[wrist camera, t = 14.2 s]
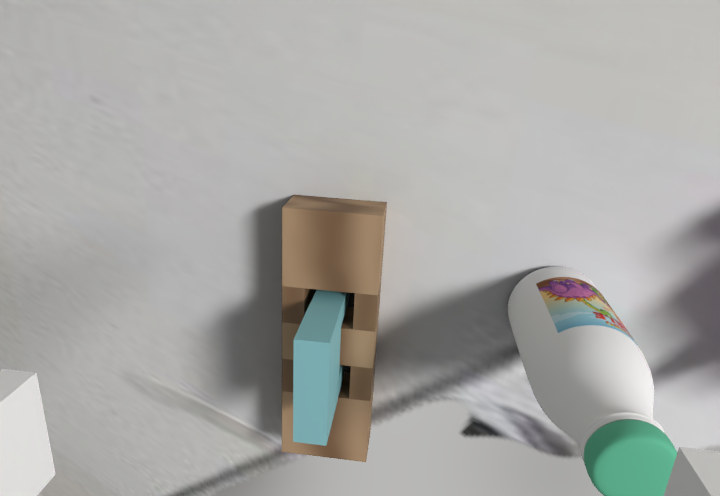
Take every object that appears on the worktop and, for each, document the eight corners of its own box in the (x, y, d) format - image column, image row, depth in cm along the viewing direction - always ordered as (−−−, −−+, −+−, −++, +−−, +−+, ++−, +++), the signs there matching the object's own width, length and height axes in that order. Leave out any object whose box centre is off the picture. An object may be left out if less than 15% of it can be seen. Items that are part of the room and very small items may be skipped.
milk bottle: (552, 358, 48) (633, 552, 30) (487, 309, 47) (529, 476, 29) (617, 299, 46) (751, 470, 27) (550, 245, 45) (640, 385, 26)
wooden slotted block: (291, 423, 54) (281, 451, 50) (293, 194, 46) (282, 207, 42) (369, 433, 53) (365, 462, 50) (386, 202, 45) (383, 215, 41)
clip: (319, 363, 51) (293, 441, 41) (321, 278, 48) (293, 339, 38) (346, 366, 51) (326, 445, 41) (349, 280, 48) (329, 343, 38)
